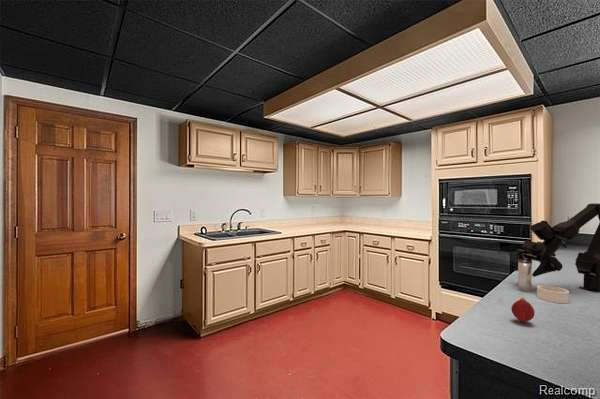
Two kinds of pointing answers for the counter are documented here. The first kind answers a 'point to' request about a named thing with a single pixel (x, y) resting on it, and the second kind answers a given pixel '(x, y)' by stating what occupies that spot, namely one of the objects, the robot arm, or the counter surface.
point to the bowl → (553, 294)
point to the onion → (522, 310)
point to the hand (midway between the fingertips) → (523, 272)
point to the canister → (524, 275)
